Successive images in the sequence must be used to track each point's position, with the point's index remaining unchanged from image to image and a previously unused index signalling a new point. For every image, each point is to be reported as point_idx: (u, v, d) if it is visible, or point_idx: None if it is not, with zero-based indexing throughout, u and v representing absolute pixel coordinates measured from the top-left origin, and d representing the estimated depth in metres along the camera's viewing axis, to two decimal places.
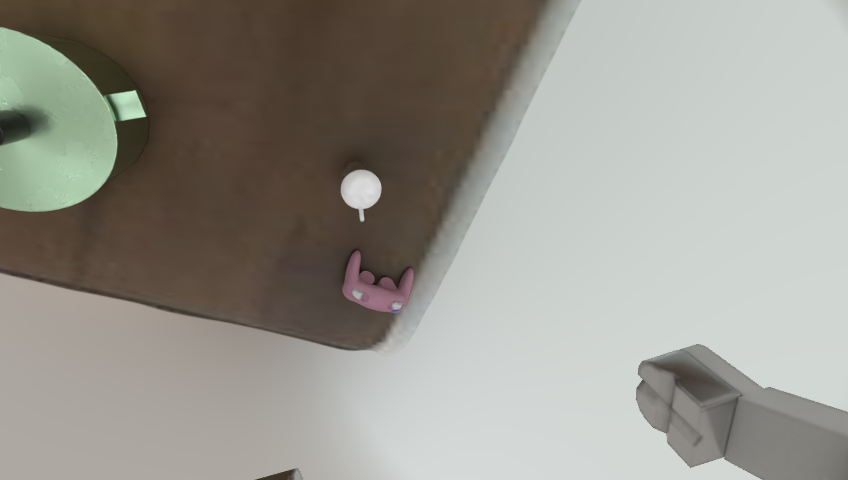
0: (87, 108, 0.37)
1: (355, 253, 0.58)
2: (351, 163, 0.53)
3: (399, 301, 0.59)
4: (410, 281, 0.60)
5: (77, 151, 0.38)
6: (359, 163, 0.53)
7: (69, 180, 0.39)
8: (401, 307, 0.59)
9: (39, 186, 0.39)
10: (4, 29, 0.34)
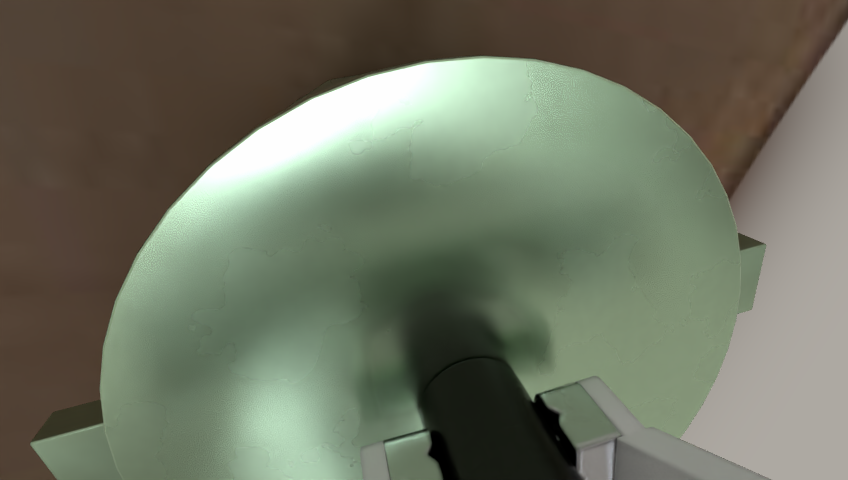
0: None
1: None
2: None
3: None
4: None
5: (276, 343, 0.09)
6: None
7: (334, 218, 0.08)
8: None
9: (464, 187, 0.08)
10: None
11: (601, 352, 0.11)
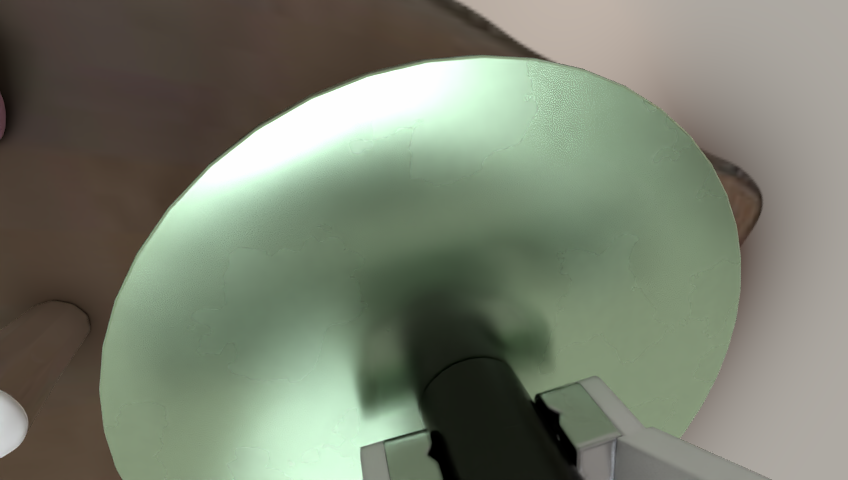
0: None
1: None
2: None
3: None
4: None
5: (276, 343, 0.09)
6: None
7: (334, 218, 0.08)
8: None
9: (465, 187, 0.08)
10: None
11: (601, 352, 0.11)
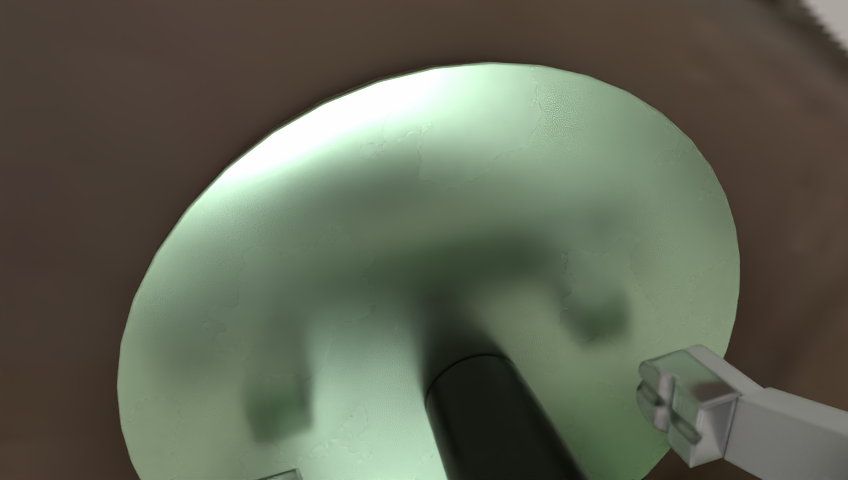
0: None
1: None
2: None
3: None
4: None
5: (288, 341, 0.09)
6: None
7: (346, 218, 0.08)
8: None
9: (471, 189, 0.08)
10: None
11: (603, 350, 0.11)
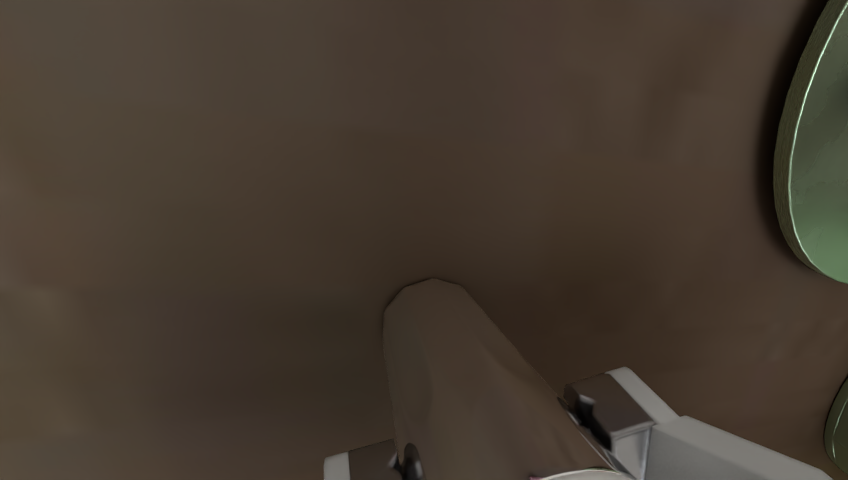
0: (835, 129, 0.14)
1: None
2: None
3: None
4: None
5: None
6: None
7: None
8: None
9: None
10: None
11: None
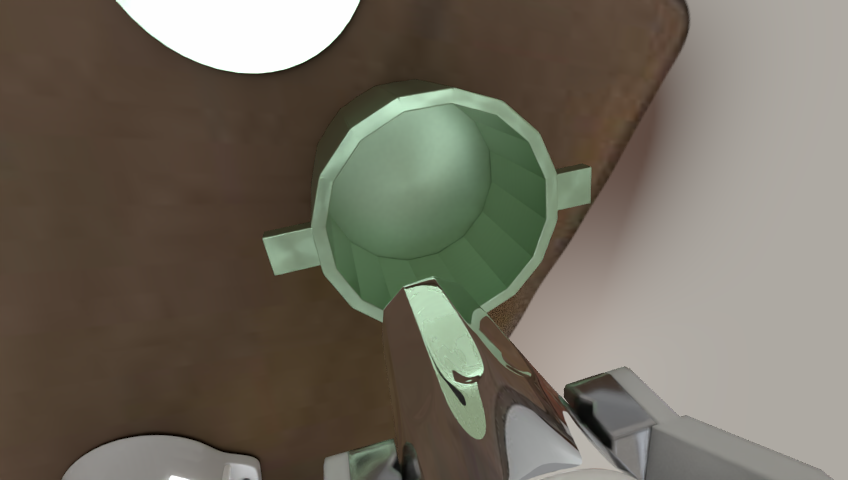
0: None
1: None
2: None
3: None
4: None
5: None
6: None
7: None
8: None
9: None
10: (218, 67, 0.26)
11: None
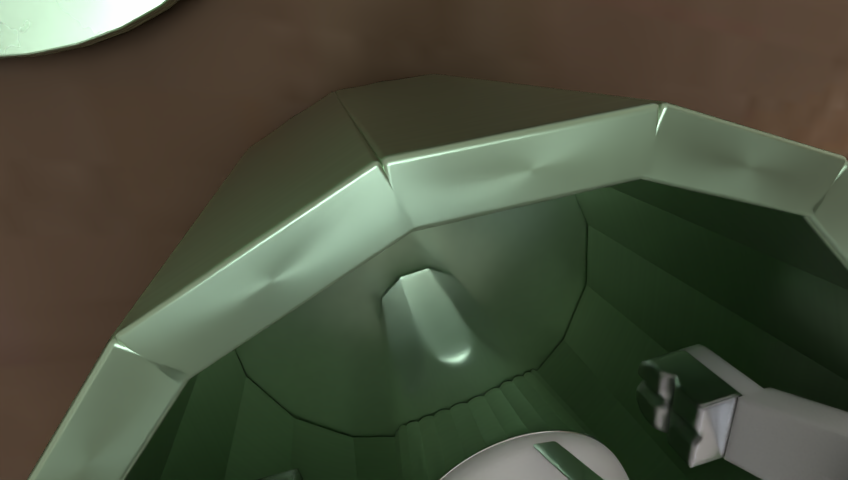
0: None
1: None
2: None
3: None
4: None
5: None
6: None
7: None
8: None
9: None
10: None
11: None
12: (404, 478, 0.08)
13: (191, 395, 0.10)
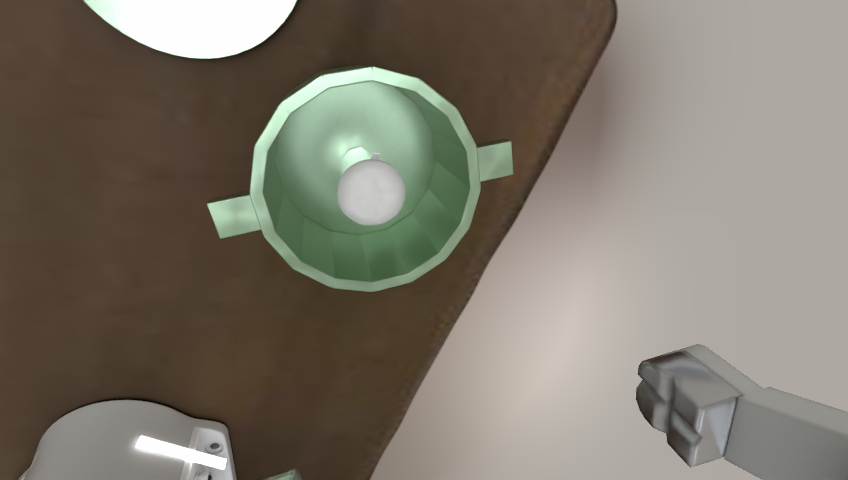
0: None
1: None
2: None
3: None
4: None
5: None
6: None
7: None
8: None
9: None
10: (171, 53, 0.29)
11: None
12: None
13: (271, 173, 0.30)
